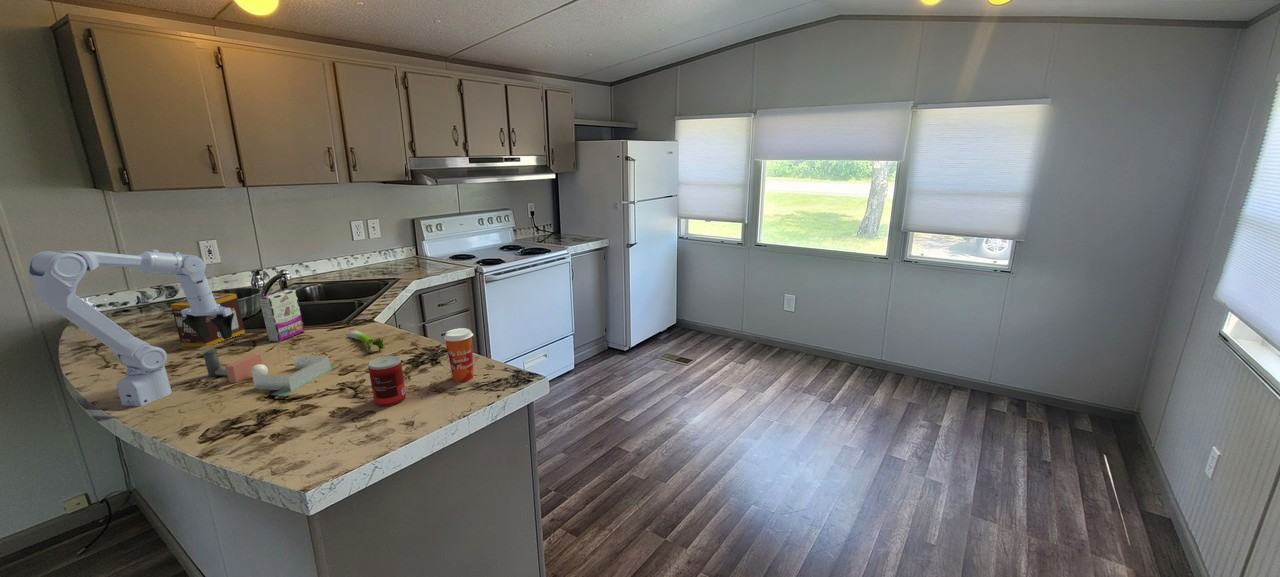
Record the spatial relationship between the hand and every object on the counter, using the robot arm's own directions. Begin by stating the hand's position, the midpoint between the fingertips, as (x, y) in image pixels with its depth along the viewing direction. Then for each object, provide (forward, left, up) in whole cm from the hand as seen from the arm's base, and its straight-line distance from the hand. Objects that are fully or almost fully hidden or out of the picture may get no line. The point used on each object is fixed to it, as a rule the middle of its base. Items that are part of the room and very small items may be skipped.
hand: (216, 337), depth 150 cm
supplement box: (+28, +34, -12) cm, 46 cm away
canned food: (-11, -61, -12) cm, 63 cm away
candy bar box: (+33, +9, -12) cm, 36 cm away
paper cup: (+4, -74, -12) cm, 75 cm away
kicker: (-3, -5, -11) cm, 12 cm away
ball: (-3, -15, -9) cm, 18 cm away
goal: (-3, -25, -11) cm, 28 cm away
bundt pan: (+53, +54, -12) cm, 77 cm away
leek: (+27, -27, -12) cm, 40 cm away
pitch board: (-3, -14, -12) cm, 19 cm away
